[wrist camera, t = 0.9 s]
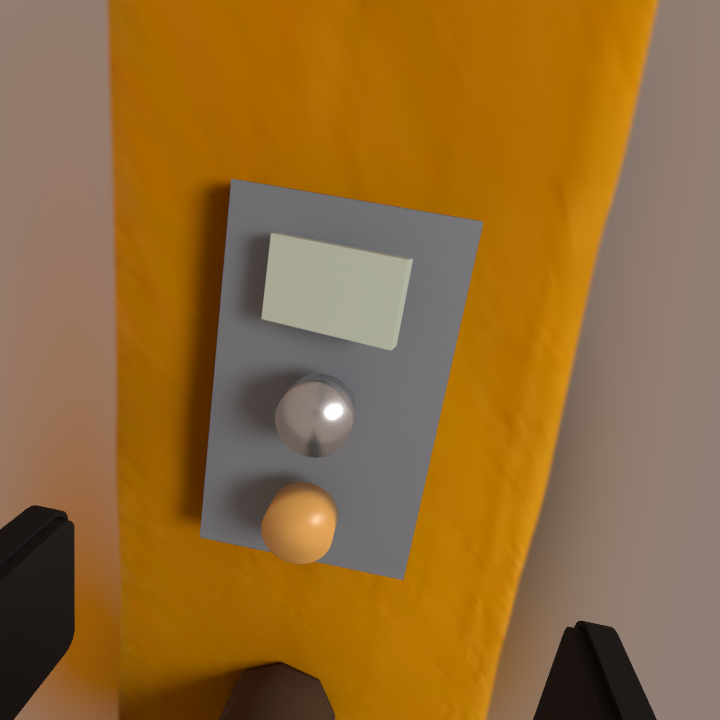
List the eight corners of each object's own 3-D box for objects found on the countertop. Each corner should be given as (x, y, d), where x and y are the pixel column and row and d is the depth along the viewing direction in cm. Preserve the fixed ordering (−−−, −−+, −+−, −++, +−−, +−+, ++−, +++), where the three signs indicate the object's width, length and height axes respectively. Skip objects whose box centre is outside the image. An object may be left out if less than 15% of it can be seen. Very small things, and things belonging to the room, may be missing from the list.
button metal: (289, 367, 26) (279, 378, 24) (361, 380, 26) (357, 393, 24) (280, 434, 27) (270, 449, 25) (350, 447, 27) (345, 464, 25)
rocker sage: (280, 232, 25) (271, 232, 24) (413, 258, 23) (408, 259, 22) (271, 315, 26) (261, 318, 25) (396, 346, 24) (391, 350, 23)
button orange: (274, 475, 28) (265, 493, 26) (342, 489, 27) (337, 508, 26) (267, 534, 29) (257, 555, 27) (332, 548, 28) (326, 570, 27)
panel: (247, 181, 27) (223, 177, 24) (477, 220, 27) (486, 222, 23) (215, 513, 33) (192, 547, 30) (404, 552, 33) (402, 592, 29)
